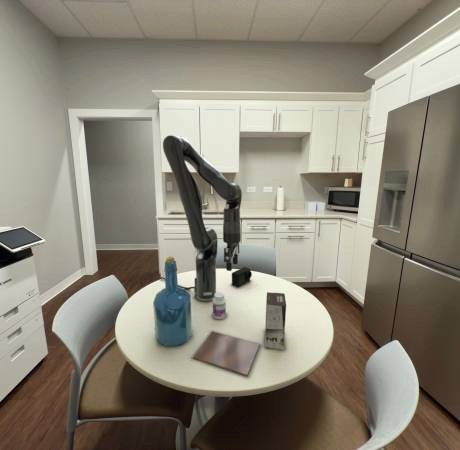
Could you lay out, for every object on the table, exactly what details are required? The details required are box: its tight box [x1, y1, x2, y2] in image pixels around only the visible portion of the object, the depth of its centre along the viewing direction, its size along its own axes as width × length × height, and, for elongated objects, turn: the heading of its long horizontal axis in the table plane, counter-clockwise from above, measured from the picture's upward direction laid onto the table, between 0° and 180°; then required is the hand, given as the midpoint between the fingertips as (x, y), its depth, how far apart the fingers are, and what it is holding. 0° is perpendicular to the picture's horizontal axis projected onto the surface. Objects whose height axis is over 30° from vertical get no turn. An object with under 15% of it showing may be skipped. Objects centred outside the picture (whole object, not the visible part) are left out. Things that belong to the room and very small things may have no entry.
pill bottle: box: [212, 291, 227, 320], centre depth 102 cm, size 5×5×10 cm
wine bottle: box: [152, 256, 193, 347], centre depth 88 cm, size 14×13×30 cm
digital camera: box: [231, 266, 253, 288], centre depth 131 cm, size 10×5×7 cm, turn 136°
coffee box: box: [264, 291, 287, 350], centre depth 86 cm, size 9×6×16 cm
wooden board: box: [193, 331, 260, 377], centre depth 83 cm, size 18×14×1 cm
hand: (232, 267), depth 109 cm, fingers open, 8 cm apart
